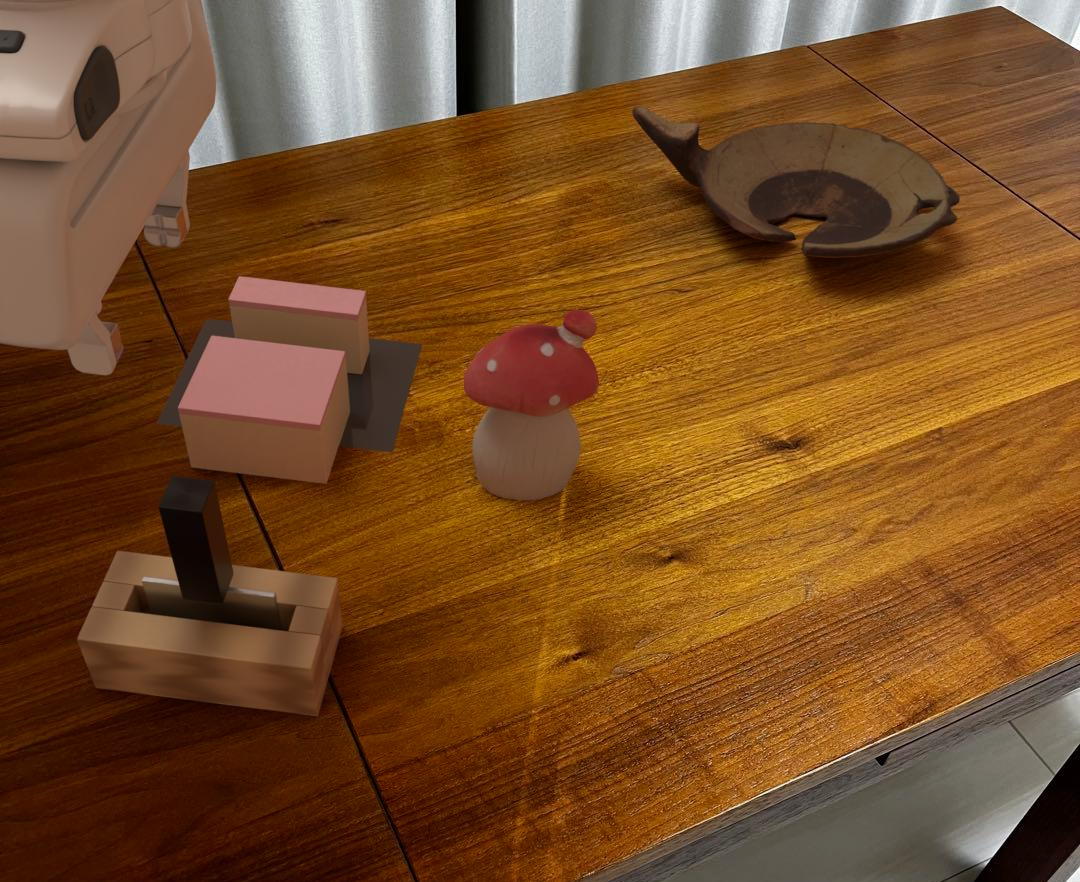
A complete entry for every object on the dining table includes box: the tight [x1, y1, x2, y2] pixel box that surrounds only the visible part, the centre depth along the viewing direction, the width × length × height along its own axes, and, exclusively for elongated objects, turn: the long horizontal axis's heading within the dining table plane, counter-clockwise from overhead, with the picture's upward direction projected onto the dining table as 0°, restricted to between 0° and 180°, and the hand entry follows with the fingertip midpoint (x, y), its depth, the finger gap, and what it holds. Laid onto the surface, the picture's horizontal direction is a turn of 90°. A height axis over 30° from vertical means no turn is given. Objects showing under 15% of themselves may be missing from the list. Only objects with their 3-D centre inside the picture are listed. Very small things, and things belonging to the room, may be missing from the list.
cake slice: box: [227, 275, 370, 374], centre depth 94 cm, size 10×3×6 cm, turn 84°
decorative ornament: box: [463, 309, 600, 501], centre depth 84 cm, size 9×7×15 cm
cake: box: [178, 336, 350, 485], centre depth 87 cm, size 10×8×6 cm
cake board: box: [155, 318, 423, 453], centre depth 92 cm, size 18×18×1 cm
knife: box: [142, 475, 282, 631], centre depth 70 cm, size 8×2×15 cm, turn 84°
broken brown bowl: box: [631, 105, 961, 259], centre depth 112 cm, size 22×30×8 cm
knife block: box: [76, 550, 344, 717], centre depth 74 cm, size 14×7×6 cm, turn 84°
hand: (136, 297), depth 55 cm, fingers open, 8 cm apart
